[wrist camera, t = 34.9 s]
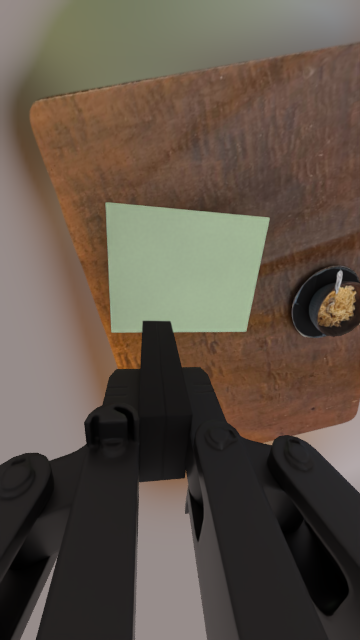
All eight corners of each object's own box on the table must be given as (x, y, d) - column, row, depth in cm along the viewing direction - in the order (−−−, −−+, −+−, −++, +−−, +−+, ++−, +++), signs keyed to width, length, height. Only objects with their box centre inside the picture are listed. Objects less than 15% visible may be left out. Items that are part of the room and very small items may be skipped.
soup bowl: (284, 340, 48) (306, 359, 42) (290, 264, 42) (317, 273, 35) (349, 328, 50) (381, 345, 43) (365, 253, 43) (405, 259, 36)
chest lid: (111, 330, 31) (111, 332, 30) (106, 202, 25) (105, 201, 24) (244, 329, 35) (246, 331, 34) (266, 217, 29) (270, 217, 28)
